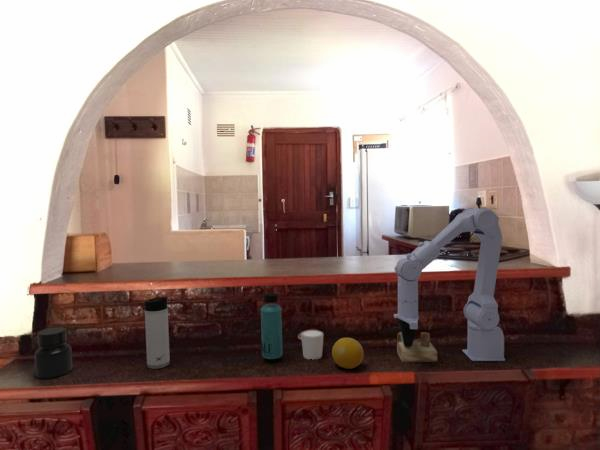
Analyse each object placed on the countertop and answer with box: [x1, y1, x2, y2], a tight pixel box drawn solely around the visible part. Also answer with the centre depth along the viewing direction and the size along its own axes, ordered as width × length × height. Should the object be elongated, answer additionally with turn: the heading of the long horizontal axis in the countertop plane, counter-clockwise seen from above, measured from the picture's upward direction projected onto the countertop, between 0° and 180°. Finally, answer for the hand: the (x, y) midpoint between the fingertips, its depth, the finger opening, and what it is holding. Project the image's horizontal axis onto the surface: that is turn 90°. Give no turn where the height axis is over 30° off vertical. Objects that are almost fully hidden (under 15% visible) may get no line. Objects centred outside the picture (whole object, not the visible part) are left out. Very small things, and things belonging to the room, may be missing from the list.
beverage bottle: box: [260, 292, 284, 360], centre depth 118 cm, size 6×7×20 cm
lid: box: [398, 331, 437, 352], centre depth 118 cm, size 9×6×4 cm
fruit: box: [331, 337, 365, 370], centre depth 112 cm, size 9×8×8 cm
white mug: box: [300, 329, 325, 361], centre depth 121 cm, size 7×7×7 cm
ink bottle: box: [34, 326, 73, 379], centre depth 112 cm, size 10×9×12 cm
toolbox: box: [396, 332, 438, 363], centre depth 119 cm, size 10×8×6 cm
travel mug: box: [144, 296, 171, 370], centre depth 116 cm, size 6×7×20 cm
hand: (407, 345), depth 116 cm, fingers closed
